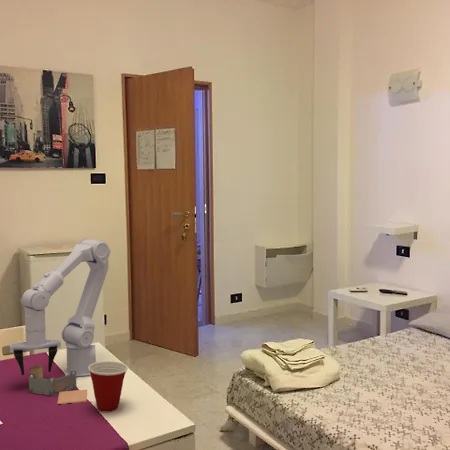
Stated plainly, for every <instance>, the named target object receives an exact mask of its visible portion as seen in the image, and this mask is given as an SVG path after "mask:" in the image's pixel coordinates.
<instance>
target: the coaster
mask: <svg viewBox="0 0 450 450" xmlns="http://www.w3.org/2000/svg"><path fill="white" fill-rule="evenodd" d="M81 402H83V403H87V402H88V389H74V390H69V391H64V392H59V394H58V399H57V405H58V404H62V405H68V404H67V403H72V404H81Z"/></svg>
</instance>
